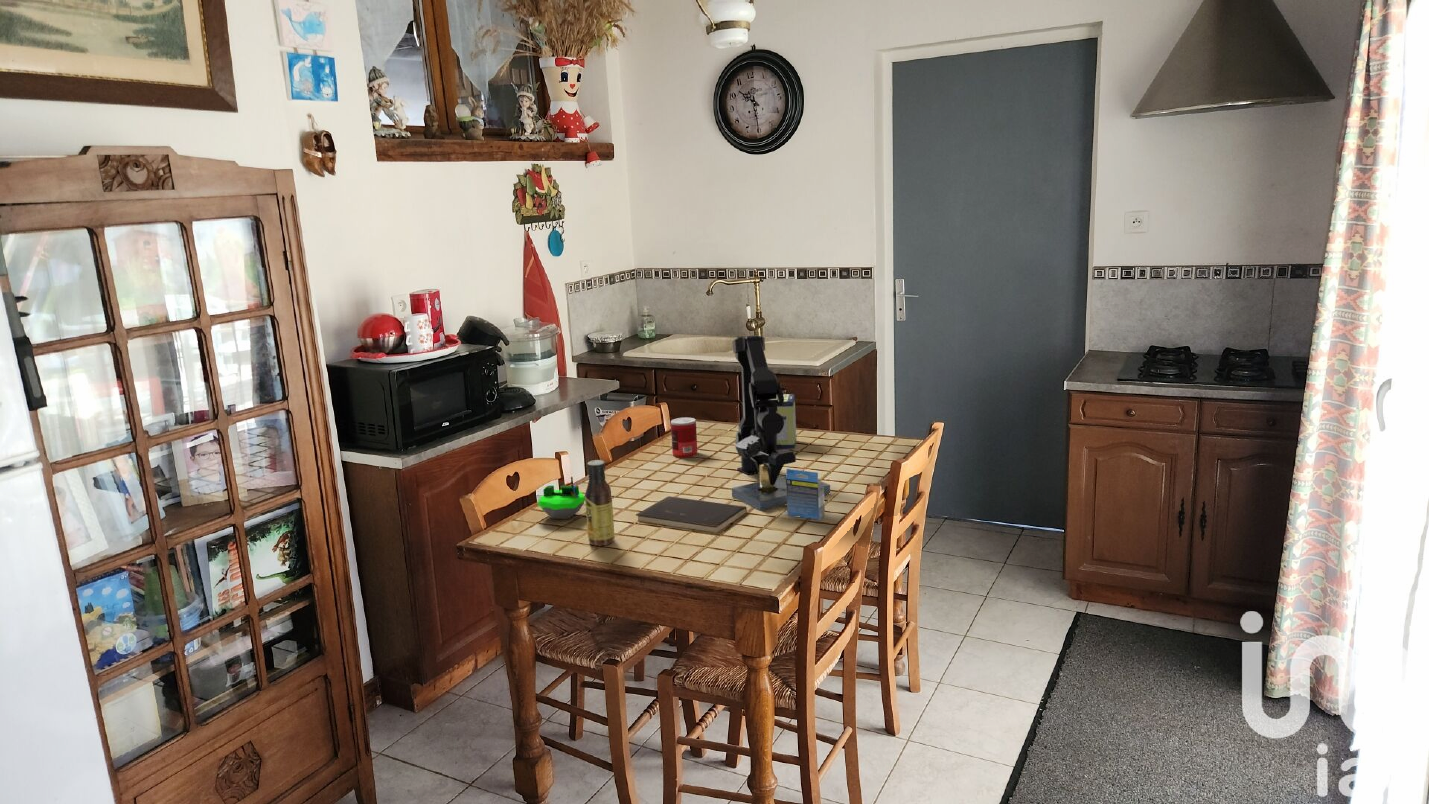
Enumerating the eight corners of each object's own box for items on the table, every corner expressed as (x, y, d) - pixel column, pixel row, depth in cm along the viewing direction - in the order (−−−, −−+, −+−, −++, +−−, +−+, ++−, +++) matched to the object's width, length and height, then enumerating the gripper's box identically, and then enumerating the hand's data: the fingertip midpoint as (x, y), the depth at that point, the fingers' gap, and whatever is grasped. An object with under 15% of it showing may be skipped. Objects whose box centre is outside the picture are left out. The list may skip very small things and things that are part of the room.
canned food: (702, 452, 296) (700, 418, 293) (688, 459, 289) (686, 424, 287) (682, 450, 300) (680, 416, 298) (667, 456, 293) (665, 422, 291)
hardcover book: (716, 535, 226) (716, 526, 225) (636, 523, 237) (635, 514, 236) (747, 514, 239) (746, 505, 239) (669, 503, 250) (669, 495, 250)
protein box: (748, 441, 307) (747, 394, 304) (796, 440, 305) (795, 393, 301) (745, 449, 297) (743, 401, 294) (795, 449, 295) (793, 400, 291)
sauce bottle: (589, 538, 226) (582, 458, 222) (615, 536, 226) (609, 456, 222) (587, 548, 220) (581, 466, 215) (614, 546, 220) (608, 464, 216)
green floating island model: (592, 511, 246) (589, 470, 244) (576, 525, 235) (573, 483, 233) (548, 509, 249) (545, 469, 247) (531, 524, 238) (528, 481, 235)
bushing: (757, 492, 249) (756, 463, 248) (770, 489, 251) (769, 460, 250) (765, 496, 246) (764, 467, 244) (778, 493, 248) (777, 464, 246)
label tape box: (825, 515, 234) (824, 468, 231) (819, 520, 231) (817, 472, 228) (793, 511, 238) (792, 464, 236) (786, 516, 235) (785, 468, 232)
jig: (732, 496, 252) (731, 485, 251) (799, 481, 262) (799, 470, 261) (760, 510, 240) (760, 499, 239) (830, 493, 250) (830, 482, 250)
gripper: (720, 423, 249) (723, 480, 252) (759, 437, 233) (761, 497, 236) (756, 416, 254) (758, 472, 258) (796, 430, 238) (797, 489, 242)
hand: (767, 482), depth 248 cm, fingers closed on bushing, 4 cm apart
